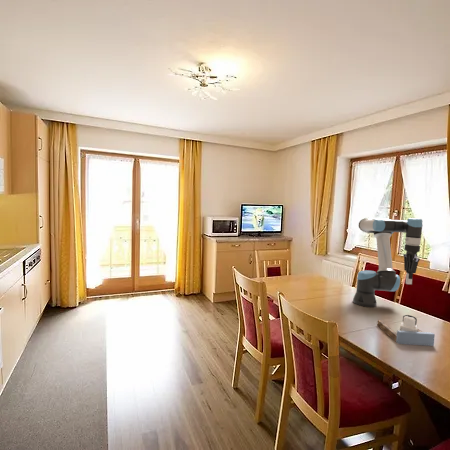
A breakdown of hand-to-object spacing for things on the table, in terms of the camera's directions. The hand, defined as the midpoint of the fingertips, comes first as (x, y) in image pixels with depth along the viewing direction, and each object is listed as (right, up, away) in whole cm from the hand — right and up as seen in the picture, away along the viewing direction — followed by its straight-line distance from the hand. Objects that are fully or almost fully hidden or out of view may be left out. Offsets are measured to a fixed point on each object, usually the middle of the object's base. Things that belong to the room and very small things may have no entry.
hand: (408, 283), depth 168 cm
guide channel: (-12, -25, -13) cm, 30 cm away
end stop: (-13, -25, -24) cm, 37 cm away
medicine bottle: (-12, -25, -19) cm, 34 cm away
